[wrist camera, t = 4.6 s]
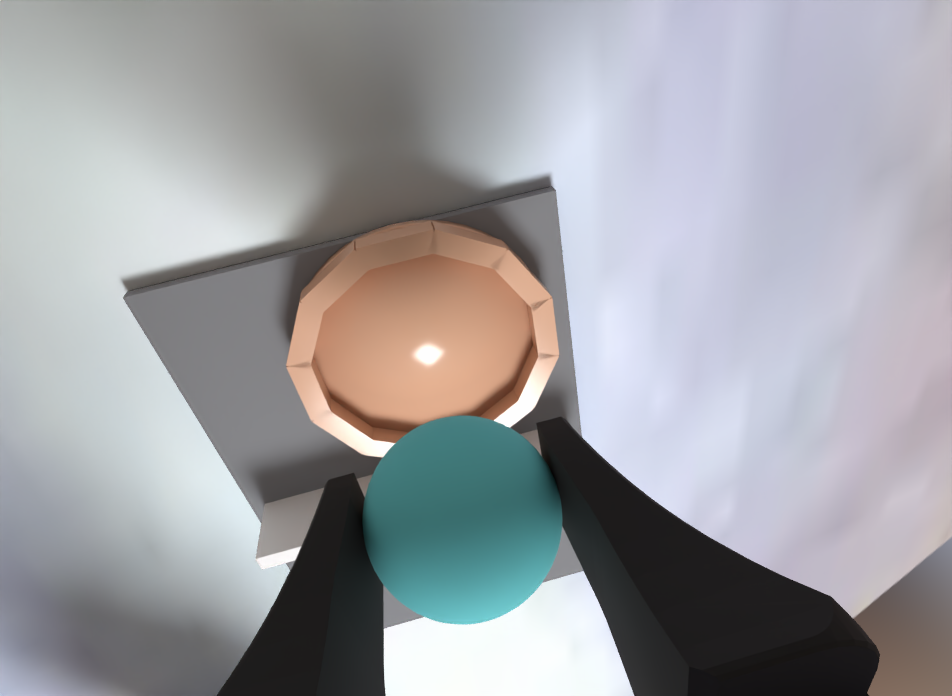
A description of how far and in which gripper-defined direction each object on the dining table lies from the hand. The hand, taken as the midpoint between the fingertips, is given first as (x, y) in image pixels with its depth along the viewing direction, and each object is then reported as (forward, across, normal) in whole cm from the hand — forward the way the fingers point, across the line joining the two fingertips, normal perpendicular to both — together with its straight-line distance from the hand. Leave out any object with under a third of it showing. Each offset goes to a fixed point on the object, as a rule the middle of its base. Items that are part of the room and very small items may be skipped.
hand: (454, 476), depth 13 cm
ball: (+1, 0, 0) cm, 1 cm away
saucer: (+6, 0, 0) cm, 6 cm away
